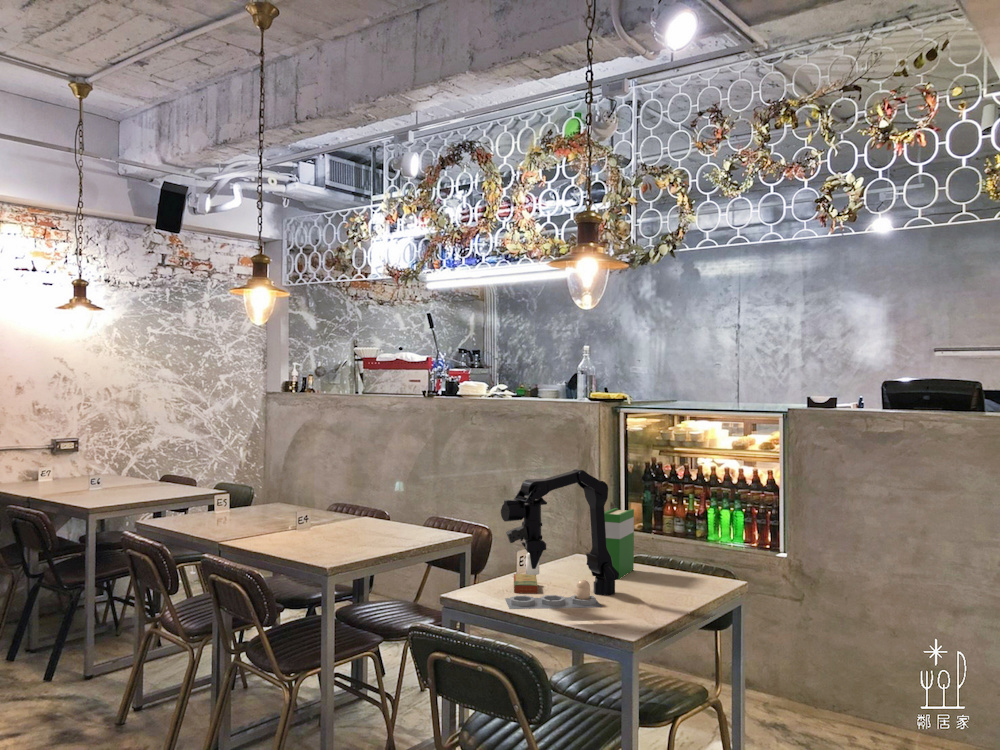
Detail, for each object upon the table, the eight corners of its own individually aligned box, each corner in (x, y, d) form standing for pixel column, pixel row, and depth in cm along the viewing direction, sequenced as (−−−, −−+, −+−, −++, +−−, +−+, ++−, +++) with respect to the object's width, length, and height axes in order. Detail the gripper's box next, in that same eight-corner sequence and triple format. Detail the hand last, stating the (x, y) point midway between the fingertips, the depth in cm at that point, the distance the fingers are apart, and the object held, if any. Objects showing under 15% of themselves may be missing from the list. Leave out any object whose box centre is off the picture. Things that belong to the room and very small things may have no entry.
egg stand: (593, 599, 261) (593, 592, 261) (602, 610, 248) (602, 602, 248) (504, 601, 258) (504, 593, 258) (509, 612, 245) (509, 604, 245)
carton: (536, 585, 282) (536, 573, 282) (538, 597, 265) (538, 584, 266) (513, 585, 282) (513, 573, 282) (513, 596, 266) (513, 584, 266)
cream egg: (538, 571, 255) (538, 549, 256) (540, 574, 251) (540, 552, 251) (524, 572, 255) (524, 549, 255) (526, 575, 251) (526, 552, 251)
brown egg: (588, 600, 257) (588, 578, 257) (591, 603, 252) (591, 581, 253) (575, 600, 256) (575, 578, 257) (577, 604, 252) (577, 581, 252)
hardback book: (615, 568, 310) (615, 507, 311) (633, 570, 307) (633, 509, 307) (600, 577, 294) (600, 513, 295) (619, 579, 291) (619, 515, 292)
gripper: (504, 514, 262) (504, 561, 262) (511, 524, 243) (511, 574, 243) (537, 514, 263) (537, 560, 263) (546, 523, 244) (546, 573, 244)
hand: (532, 567), depth 253 cm, fingers closed on cream egg, 4 cm apart
